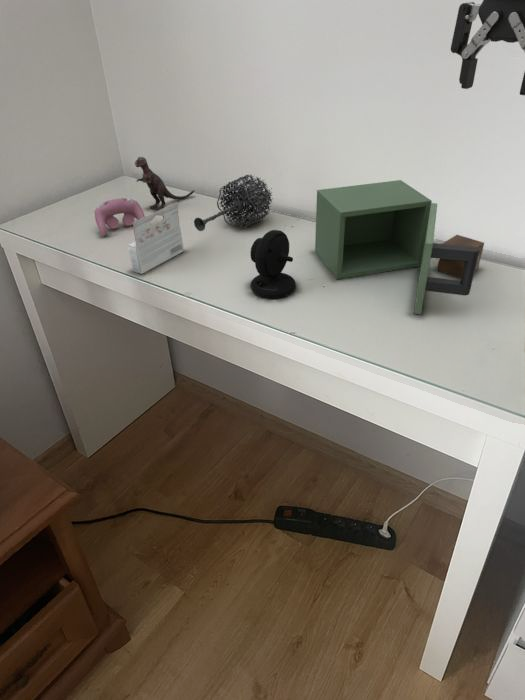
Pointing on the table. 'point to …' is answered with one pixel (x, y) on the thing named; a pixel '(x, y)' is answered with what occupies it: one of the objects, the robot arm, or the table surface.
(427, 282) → the door
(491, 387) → the table surface
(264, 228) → the table surface
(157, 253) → the ink cartridge box
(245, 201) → the massage brush
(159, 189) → the dinosaur model
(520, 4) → the robot arm
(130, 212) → the video game controller
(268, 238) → the webcam
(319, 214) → the cupboard
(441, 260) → the block
